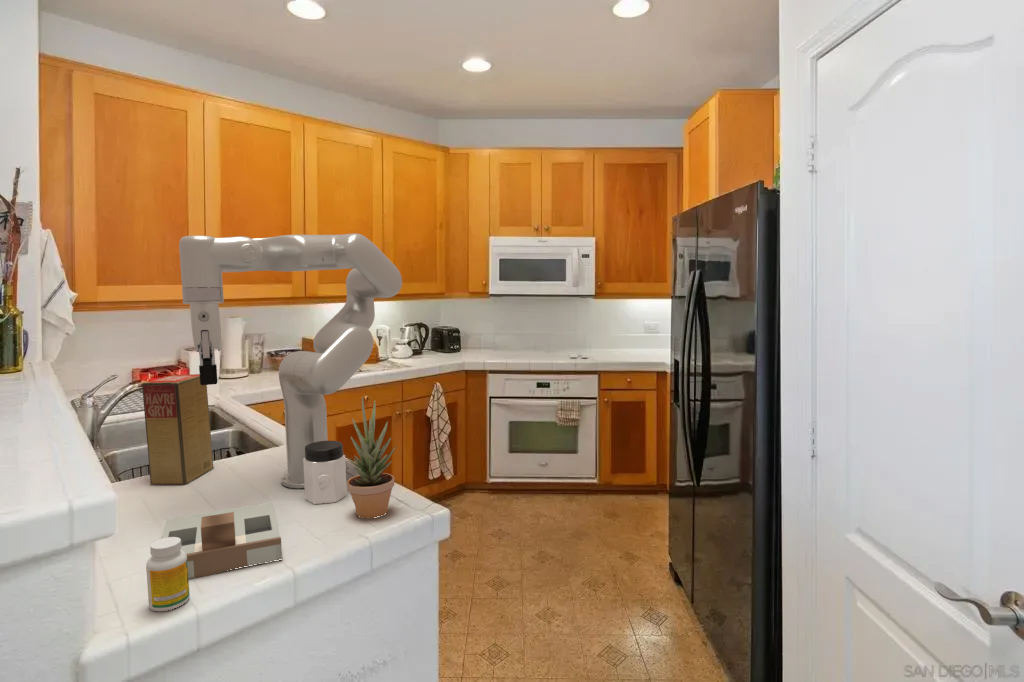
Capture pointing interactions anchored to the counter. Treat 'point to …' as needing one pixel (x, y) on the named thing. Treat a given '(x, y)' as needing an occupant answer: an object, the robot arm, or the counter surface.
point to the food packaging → (177, 429)
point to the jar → (324, 472)
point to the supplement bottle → (167, 575)
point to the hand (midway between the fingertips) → (209, 383)
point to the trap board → (252, 545)
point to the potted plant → (370, 472)
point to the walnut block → (218, 531)
